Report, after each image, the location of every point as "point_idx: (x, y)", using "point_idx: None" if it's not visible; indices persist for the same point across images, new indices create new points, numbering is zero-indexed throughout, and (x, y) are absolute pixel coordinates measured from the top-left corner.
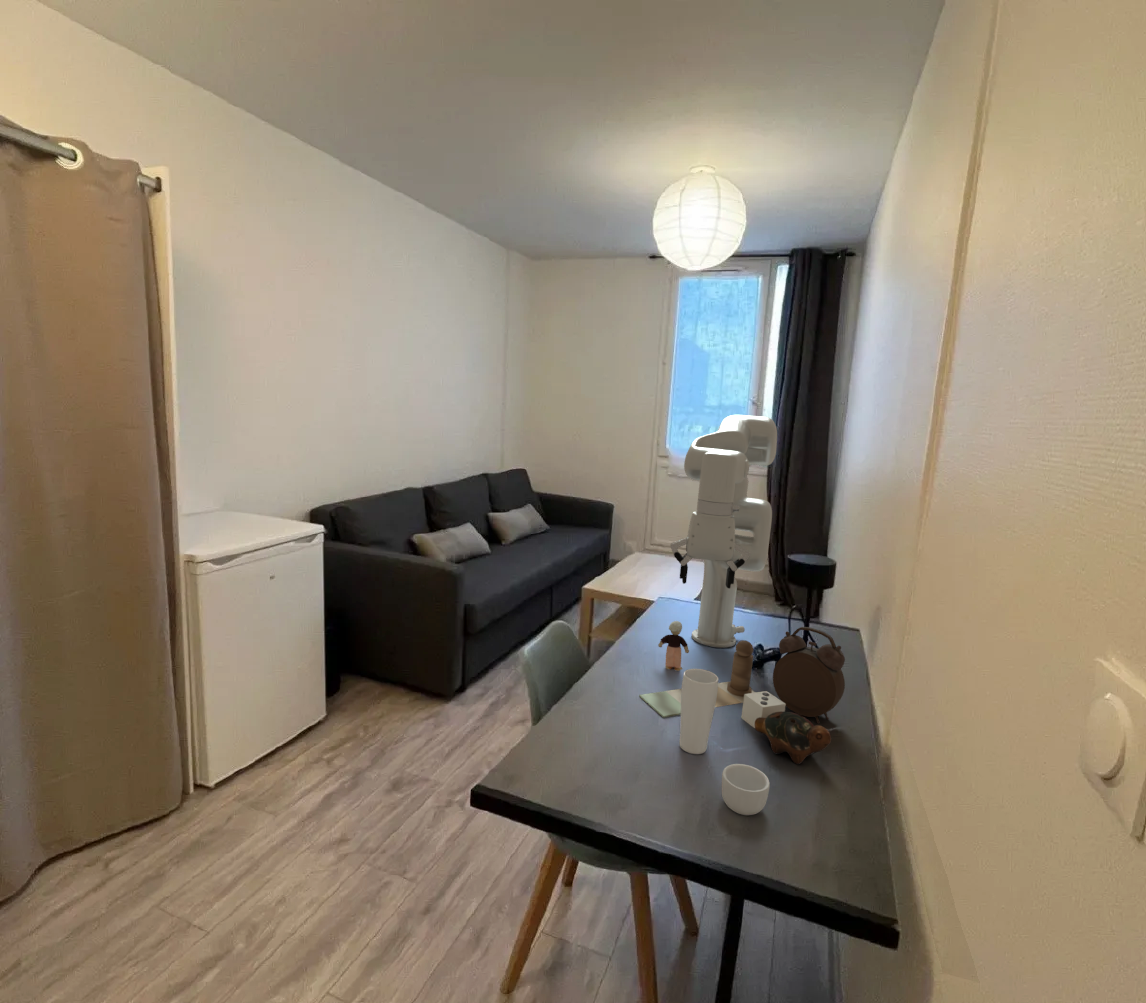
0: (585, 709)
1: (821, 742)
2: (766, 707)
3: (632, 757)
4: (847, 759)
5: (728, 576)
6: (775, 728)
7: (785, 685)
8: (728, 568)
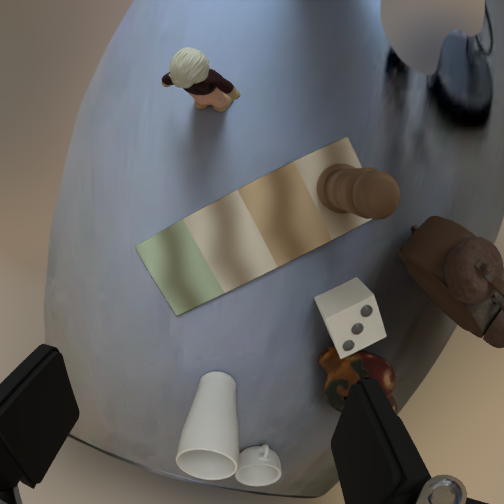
0: (69, 303)
1: None
2: (347, 354)
3: (145, 402)
4: (416, 363)
5: (345, 501)
6: (333, 406)
7: (416, 276)
8: (397, 486)
